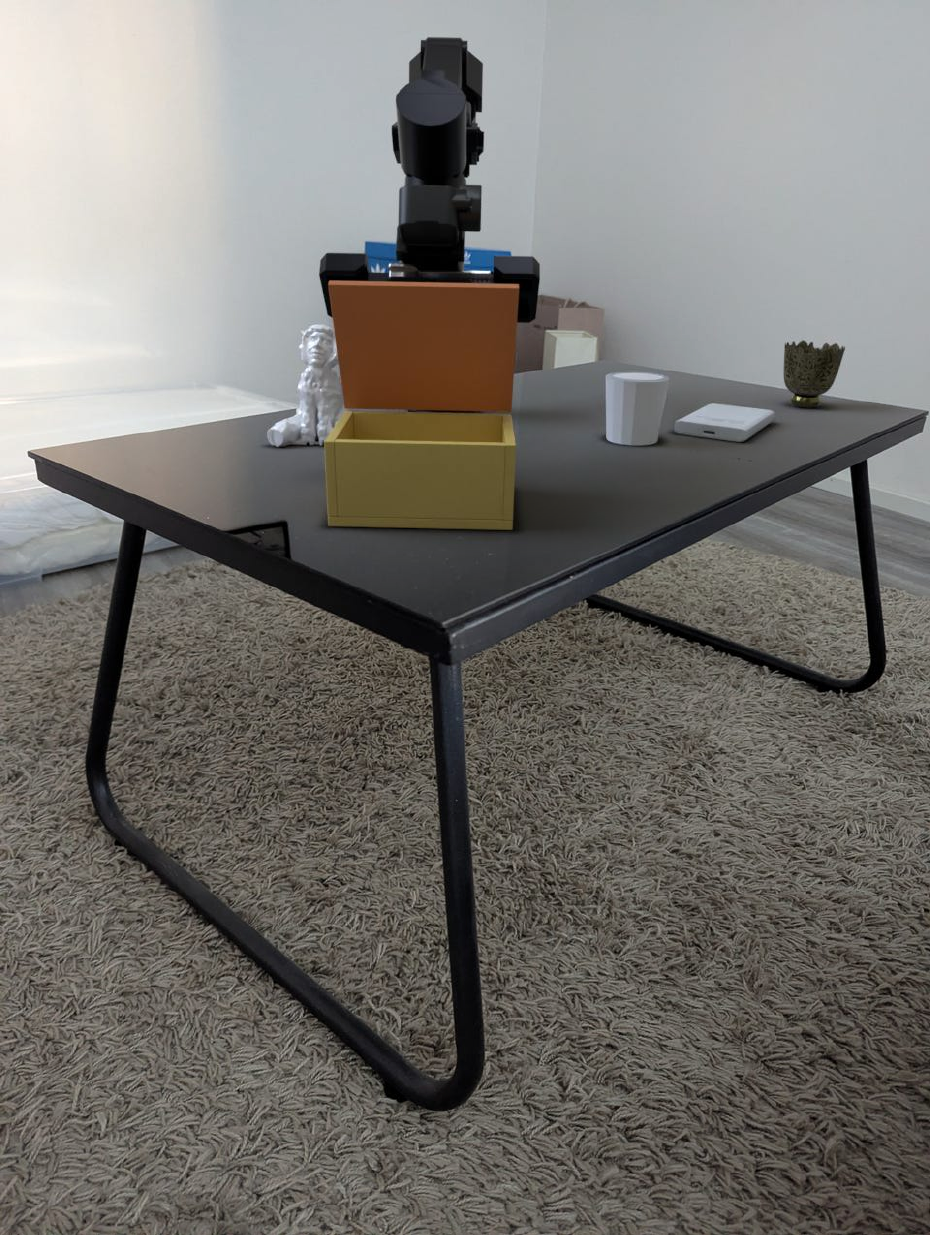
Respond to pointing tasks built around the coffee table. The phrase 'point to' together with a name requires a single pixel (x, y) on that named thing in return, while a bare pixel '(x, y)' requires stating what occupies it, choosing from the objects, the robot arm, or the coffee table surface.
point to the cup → (810, 371)
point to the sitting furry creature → (314, 392)
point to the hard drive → (724, 422)
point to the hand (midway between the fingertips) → (427, 368)
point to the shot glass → (634, 406)
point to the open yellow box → (421, 470)
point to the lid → (425, 344)
